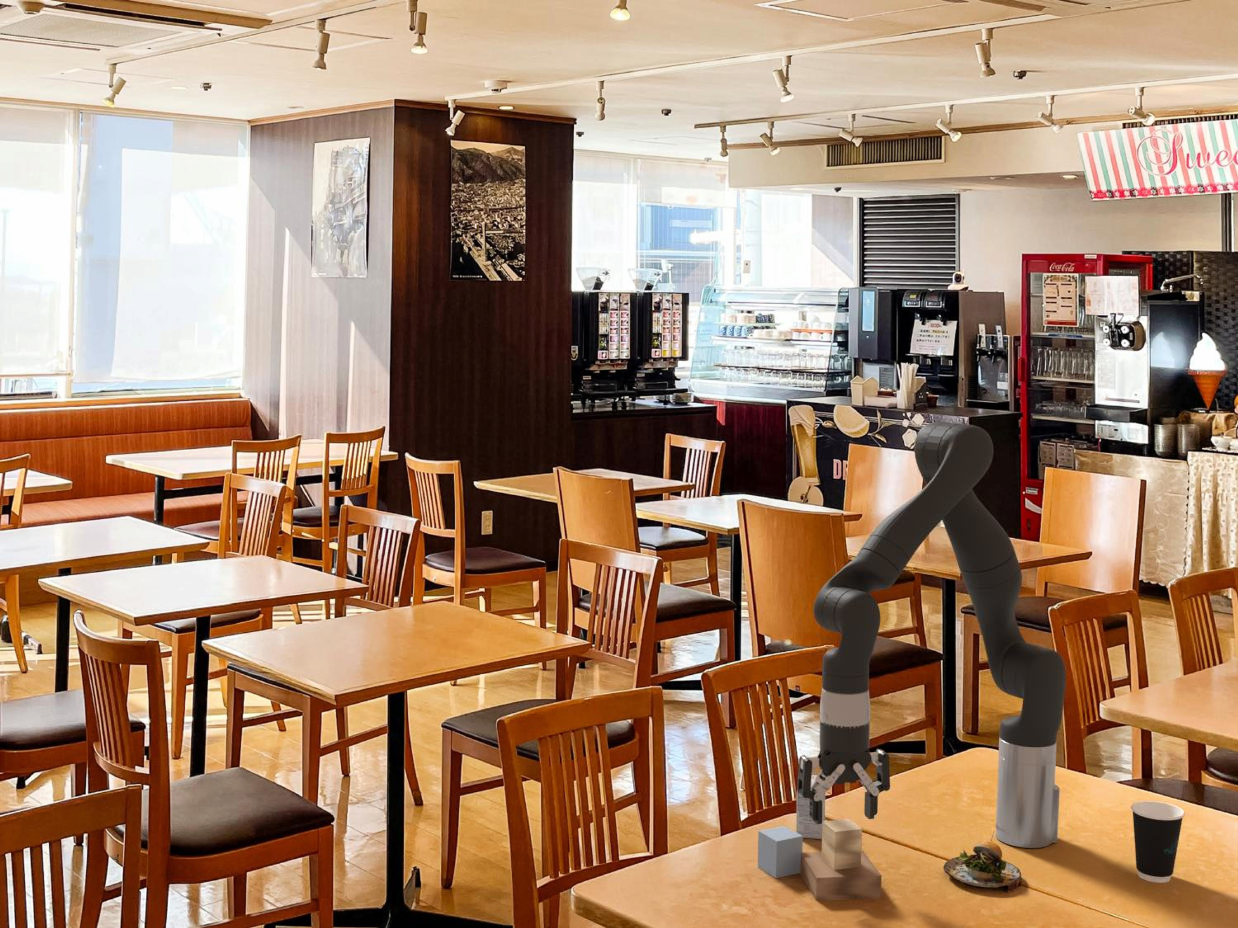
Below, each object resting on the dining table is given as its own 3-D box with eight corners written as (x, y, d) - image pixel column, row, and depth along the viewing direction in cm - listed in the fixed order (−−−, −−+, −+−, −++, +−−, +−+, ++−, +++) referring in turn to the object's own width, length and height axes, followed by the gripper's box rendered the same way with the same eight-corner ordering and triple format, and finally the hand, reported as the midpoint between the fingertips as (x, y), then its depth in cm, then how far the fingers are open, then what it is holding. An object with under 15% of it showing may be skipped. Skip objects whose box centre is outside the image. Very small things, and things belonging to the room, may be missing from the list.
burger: (928, 871, 222) (930, 826, 222) (989, 861, 227) (991, 816, 226) (975, 900, 211) (977, 852, 211) (1038, 889, 216) (1040, 842, 215)
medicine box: (822, 840, 235) (823, 790, 234) (795, 837, 236) (796, 788, 235) (824, 823, 242) (826, 775, 241) (799, 821, 243) (800, 773, 242)
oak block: (847, 855, 218) (849, 818, 218) (860, 866, 214) (862, 828, 213) (821, 858, 217) (822, 821, 216) (833, 869, 213) (835, 831, 212)
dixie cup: (1183, 889, 216) (1187, 820, 214) (1128, 882, 218) (1132, 814, 217) (1179, 870, 223) (1182, 803, 222) (1126, 864, 226) (1129, 797, 224)
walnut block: (862, 874, 221) (862, 850, 221) (880, 900, 211) (881, 875, 211) (800, 876, 220) (800, 852, 220) (816, 903, 210) (816, 877, 210)
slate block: (783, 861, 225) (784, 825, 225) (801, 872, 221) (802, 835, 220) (757, 867, 223) (758, 830, 222) (775, 878, 218) (776, 841, 218)
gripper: (878, 707, 218) (876, 807, 220) (792, 713, 215) (790, 815, 217) (898, 720, 211) (896, 824, 213) (809, 727, 208) (808, 832, 210)
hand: (843, 819), depth 215 cm, fingers open, 8 cm apart
